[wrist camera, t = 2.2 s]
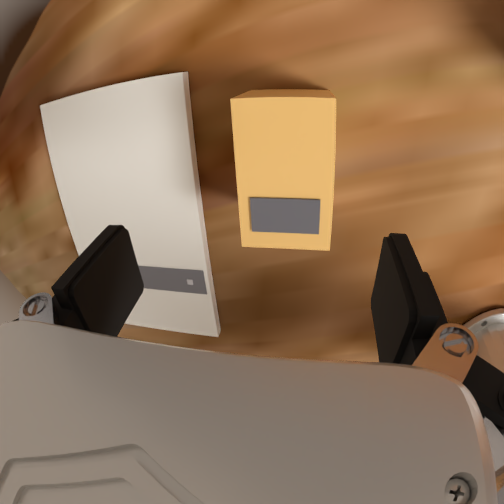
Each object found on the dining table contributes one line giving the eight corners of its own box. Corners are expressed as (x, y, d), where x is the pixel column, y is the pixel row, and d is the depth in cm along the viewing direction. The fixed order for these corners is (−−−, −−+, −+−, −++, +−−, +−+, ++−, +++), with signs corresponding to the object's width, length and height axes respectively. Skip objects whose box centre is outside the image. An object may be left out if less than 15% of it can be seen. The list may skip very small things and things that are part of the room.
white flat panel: (187, 71, 23) (181, 72, 21) (220, 329, 38) (218, 337, 37) (47, 103, 25) (38, 105, 24) (108, 313, 40) (104, 320, 39)
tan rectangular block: (329, 89, 22) (336, 98, 16) (326, 206, 27) (329, 251, 21) (251, 89, 23) (229, 99, 17) (257, 204, 28) (241, 247, 22)
